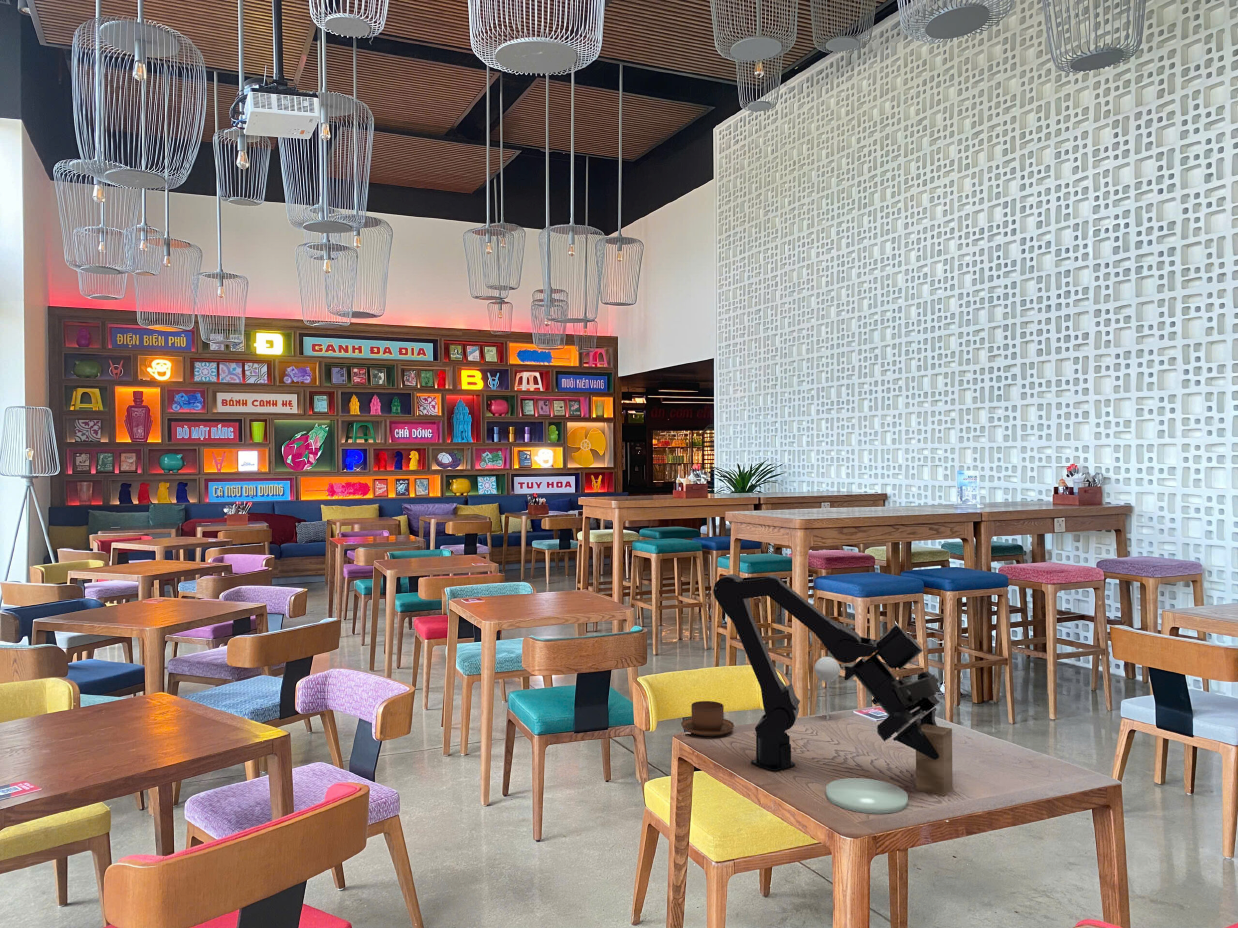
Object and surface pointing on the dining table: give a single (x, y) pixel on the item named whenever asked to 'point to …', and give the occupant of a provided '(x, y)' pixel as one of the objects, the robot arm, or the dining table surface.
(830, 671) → the lollipop
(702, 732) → the cup and saucer
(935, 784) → the walnut block
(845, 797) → the dish
